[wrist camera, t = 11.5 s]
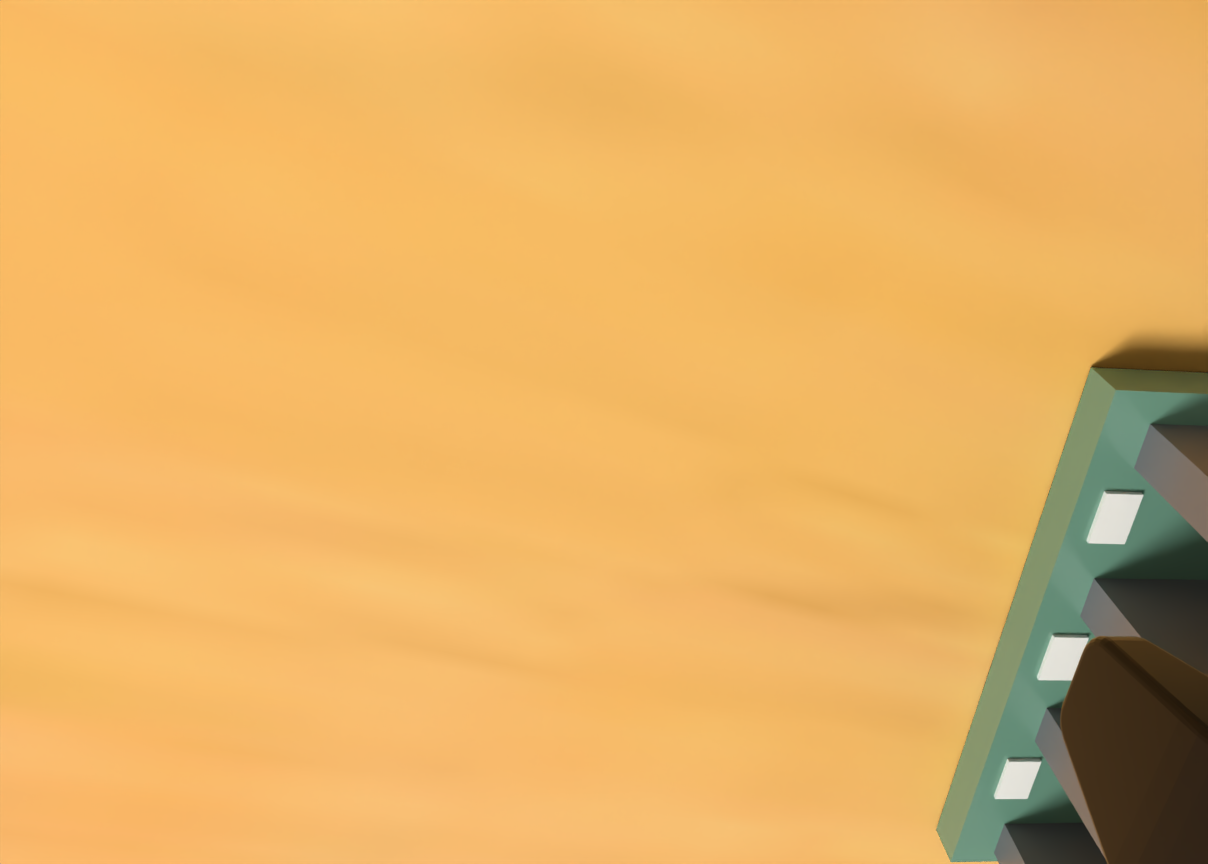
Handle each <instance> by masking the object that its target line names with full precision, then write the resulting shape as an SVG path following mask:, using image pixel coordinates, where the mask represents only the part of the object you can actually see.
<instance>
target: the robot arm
mask: <svg viewBox="0 0 1208 864" xmlns="http://www.w3.org/2000/svg"><path fill="white" fill-rule="evenodd" d="M1060 726H1061V732H1062V736H1063V740H1064V743H1065V746H1066V748H1067V751H1068V754H1069V757H1070V760H1071V763H1072V765H1073V768H1074V771H1075V774H1076V777H1077V780H1078V782H1079V785H1080V788H1081V791H1082V794H1083V797H1084V799H1085V802H1086V805H1087V808H1088V811H1089V814H1090V816H1091V819H1092V822H1093V825H1094V828H1095V831H1096V833H1097V836H1098V839H1099V842H1100V845H1101V848H1102V850H1103V853H1104V856H1105V859H1106V862H1107V864H1208V676H1207V675H1206V674H1204V673H1202V672H1201V671H1199V670H1197V669H1196V668H1194V667H1192V666H1190V665H1189V664H1187V663H1185V662H1184V661H1182V660H1180V659H1179V658H1177V657H1175V656H1173V655H1172V654H1170V653H1168V652H1167V651H1165V650H1163V649H1162V648H1160V647H1158V646H1156V645H1155V644H1153V643H1151V642H1150V641H1148V640H1146V639H1144V638H1140V637H1136V636H1098V637H1096V638H1093V639H1092V640H1090V641H1089V643H1088V644H1087V645H1086V646H1085V648H1084V650H1083V653H1082V655H1081V658H1080V660H1079V663H1078V666H1077V668H1076V671H1075V673H1074V676H1073V679H1072V681H1071V684H1070V687H1069V689H1068V692H1067V694H1066V697H1065V700H1064V702H1063V705H1062V709H1061V716H1060Z"/></svg>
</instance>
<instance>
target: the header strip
mask: <svg viewBox="0 0 1208 864" xmlns="http://www.w3.org/2000/svg"><path fill="white" fill-rule="evenodd" d="M1150 424H1169V425H1200V426H1208V373H1202V372H1181V371H1159V370H1138V369H1116V368H1095V367H1091V369H1090V372H1089V375H1088V378H1087V381H1086V384H1085V387H1084V390H1083V393H1082V396H1081V399H1080V402H1079V405H1078V408H1077V411H1076V414H1075V417H1074V420H1073V423H1072V426H1071V429H1070V432H1069V435H1068V438H1067V441H1066V444H1065V446H1064V449H1063V452H1062V455H1061V458H1060V461H1059V464H1058V467H1057V470H1056V473H1055V476H1054V479H1053V482H1052V485H1051V488H1050V491H1049V494H1048V497H1047V500H1046V503H1045V506H1044V509H1043V512H1042V515H1041V518H1040V521H1039V524H1038V527H1037V530H1036V533H1035V536H1034V539H1033V542H1032V545H1031V548H1030V551H1029V554H1028V557H1027V560H1026V563H1025V566H1024V569H1023V572H1022V575H1021V578H1020V581H1019V584H1018V587H1017V590H1016V593H1015V596H1014V599H1013V602H1012V605H1011V608H1010V611H1009V614H1008V617H1007V620H1006V623H1005V626H1004V629H1003V632H1002V635H1001V638H1000V641H999V644H998V647H997V650H996V653H995V656H994V659H993V662H992V665H991V668H990V671H989V674H988V677H987V680H986V683H985V686H984V689H983V691H982V694H981V697H980V700H979V703H978V706H977V709H976V712H975V715H974V718H973V721H972V724H971V727H970V730H969V733H968V736H967V739H966V742H965V745H964V748H963V751H962V754H961V757H960V760H959V763H958V766H957V769H956V772H955V775H954V778H953V781H952V784H951V787H950V790H949V793H948V796H947V799H946V802H945V805H944V808H943V811H942V814H941V817H940V820H939V823H938V826H937V829H936V830H937V833H938V835H939V837H940V839H941V841H942V844H943V846H944V848H945V850H946V853H947V855H948V857H949V859H950V861H951V862H981V861H998V860H997V858H996V856H995V854H994V851H995V848H996V846H997V843H998V840H999V837H1000V835H1001V832H1002V829H1003V826H1004V824H1030V823H1083V821H1082V819H1081V818H1080V816H1079V814H1078V813H1077V811H1076V809H1075V808H1074V806H1073V804H1072V802H1071V801H1070V799H1069V797H1068V796H1067V794H1066V792H1065V791H1064V789H1063V787H1062V786H1061V784H1060V782H1059V781H1058V779H1057V777H1056V776H1055V774H1054V772H1053V771H1052V769H1051V767H1050V766H1049V764H1048V762H1047V761H1046V759H1045V757H1044V756H1043V754H1042V752H1041V751H1040V749H1039V747H1038V746H1037V744H1036V742H1035V738H1036V736H1037V733H1038V730H1039V727H1040V725H1041V722H1042V719H1043V717H1044V714H1045V711H1046V708H1062V705H1063V702H1064V700H1065V697H1066V694H1067V692H1068V689H1069V687H1070V684H1071V681H1072V679H1073V676H1074V673H1075V671H1076V668H1077V666H1078V663H1079V660H1080V658H1081V655H1082V653H1083V650H1084V648H1085V646H1086V645H1087V644H1088V643H1089V641H1090V640H1092V639H1093V638H1096V637H1095V636H1094V634H1093V633H1092V632H1091V630H1090V629H1089V628H1088V626H1087V625H1086V623H1085V622H1084V621H1083V619H1082V618H1081V617H1080V615H1081V612H1082V609H1083V607H1084V604H1085V601H1086V598H1087V596H1088V593H1089V590H1090V587H1091V585H1092V582H1093V579H1094V578H1109V579H1183V580H1208V542H1207V541H1206V540H1205V539H1204V538H1203V537H1202V536H1201V535H1200V534H1199V533H1198V532H1197V531H1196V530H1195V529H1194V528H1193V527H1192V526H1191V525H1190V524H1189V523H1188V522H1187V521H1186V520H1185V519H1184V518H1183V517H1182V516H1181V515H1180V514H1179V513H1178V512H1177V511H1176V510H1175V509H1174V508H1173V507H1172V506H1171V505H1170V504H1169V503H1168V502H1167V501H1166V500H1165V499H1164V498H1163V497H1162V496H1161V495H1160V494H1159V493H1158V492H1157V491H1156V490H1155V489H1154V488H1153V487H1152V486H1151V485H1150V484H1149V483H1148V482H1147V481H1146V480H1145V479H1144V478H1143V477H1142V476H1141V475H1140V474H1139V473H1138V472H1137V471H1136V470H1135V469H1134V467H1135V464H1136V461H1137V458H1138V456H1139V453H1140V450H1141V447H1142V445H1143V442H1144V439H1145V436H1146V434H1147V431H1148V428H1149V425H1150Z"/></svg>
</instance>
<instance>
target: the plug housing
mask: <svg viewBox="0 0 1208 864" xmlns="http://www.w3.org/2000/svg"><path fill="white" fill-rule="evenodd" d="M1134 469H1135V470H1136V471H1137V472H1138V473H1139V474H1140V475H1141V476H1142V477H1143V478H1144V479H1145V480H1146V481H1147V482H1148V483H1149V484H1150V485H1151V486H1152V487H1153V488H1154V489H1155V490H1156V491H1157V492H1158V493H1159V494H1160V495H1161V496H1162V497H1163V498H1164V499H1165V500H1166V501H1167V502H1168V503H1169V504H1170V505H1171V506H1172V507H1173V508H1174V509H1175V510H1176V511H1177V512H1178V513H1179V514H1180V515H1181V516H1182V517H1183V518H1184V519H1185V520H1186V521H1187V522H1188V523H1189V524H1190V525H1191V526H1192V527H1193V528H1194V529H1195V530H1196V531H1197V532H1198V533H1199V534H1200V535H1201V536H1202V537H1203V538H1204V539H1205V540H1206V541H1207V542H1208V426H1200V425H1169V424H1150V425H1149V428H1148V431H1147V434H1146V436H1145V439H1144V442H1143V445H1142V447H1141V450H1140V453H1139V456H1138V458H1137V461H1136V464H1135V467H1134ZM1080 617H1081V618H1082V619H1083V621H1084V622H1085V623H1086V625H1087V626H1088V628H1089V629H1090V630H1091V632H1092V633H1093V634H1094V636H1095V637H1098V636H1136V637H1140V638H1144V639H1146V640H1148V641H1150V642H1151V643H1153V644H1155V645H1156V646H1158V647H1160V648H1162V649H1163V650H1165V651H1167V652H1168V653H1170V654H1172V655H1173V656H1175V657H1177V658H1179V659H1180V660H1182V661H1184V662H1185V663H1187V664H1189V665H1190V666H1192V667H1194V668H1196V669H1197V670H1199V671H1201V672H1202V673H1204V674H1206V675H1207V676H1208V580H1183V579H1109V578H1094V579H1093V582H1092V585H1091V587H1090V590H1089V593H1088V596H1087V598H1086V601H1085V604H1084V607H1083V609H1082V612H1081V615H1080ZM1061 709H1062V708H1046V711H1045V714H1044V717H1043V719H1042V722H1041V725H1040V727H1039V730H1038V733H1037V736H1036V738H1035V742H1036V744H1037V746H1038V747H1039V749H1040V751H1041V752H1042V754H1043V756H1044V757H1045V759H1046V761H1047V762H1048V764H1049V766H1050V767H1051V769H1052V771H1053V772H1054V774H1055V776H1056V777H1057V779H1058V781H1059V782H1060V784H1061V786H1062V787H1063V789H1064V791H1065V792H1066V794H1067V796H1068V797H1069V799H1070V801H1071V802H1072V804H1073V806H1074V808H1075V809H1076V811H1077V813H1078V814H1079V816H1080V818H1081V819H1082V821H1083V823H1030V824H1004V826H1003V829H1002V832H1001V835H1000V837H999V840H998V843H997V846H996V848H995V851H994V854H995V856H996V858H997V860H998V862H999V864H1107V862H1106V859H1105V856H1104V853H1103V850H1102V848H1101V845H1100V842H1099V839H1098V836H1097V833H1096V831H1095V828H1094V825H1093V822H1092V819H1091V816H1090V814H1089V811H1088V808H1087V805H1086V802H1085V799H1084V797H1083V794H1082V791H1081V788H1080V785H1079V782H1078V780H1077V777H1076V774H1075V771H1074V768H1073V765H1072V763H1071V760H1070V757H1069V754H1068V751H1067V748H1066V746H1065V743H1064V740H1063V736H1062V732H1061V726H1060V716H1061Z"/></svg>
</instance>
